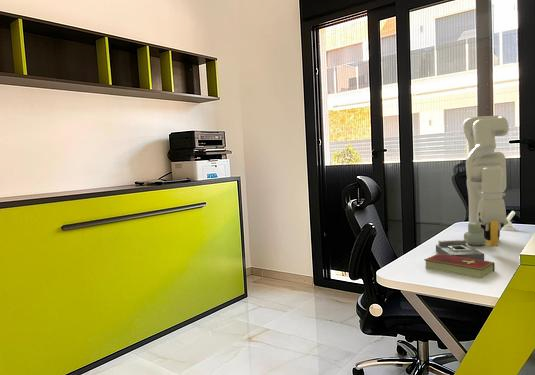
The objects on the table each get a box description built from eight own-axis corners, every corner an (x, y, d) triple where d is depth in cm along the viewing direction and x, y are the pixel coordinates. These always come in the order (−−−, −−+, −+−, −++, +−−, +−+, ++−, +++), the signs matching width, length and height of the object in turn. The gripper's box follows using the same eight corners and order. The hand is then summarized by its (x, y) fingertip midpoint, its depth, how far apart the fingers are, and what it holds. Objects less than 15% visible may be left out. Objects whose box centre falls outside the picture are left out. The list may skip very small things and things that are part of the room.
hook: (527, 219, 217) (520, 213, 214) (514, 238, 218) (506, 232, 215) (515, 215, 224) (508, 209, 221) (502, 232, 225) (495, 227, 222)
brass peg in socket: (485, 244, 175) (485, 218, 174) (492, 243, 175) (493, 218, 173) (490, 246, 170) (490, 221, 169) (498, 246, 170) (498, 220, 169)
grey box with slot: (435, 251, 182) (435, 240, 181) (466, 250, 181) (465, 239, 180) (450, 262, 164) (450, 250, 163) (484, 261, 163) (484, 249, 162)
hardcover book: (438, 262, 166) (438, 252, 165) (494, 272, 150) (494, 261, 150) (424, 269, 158) (424, 258, 157) (481, 280, 142) (481, 268, 142)
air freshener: (488, 247, 185) (488, 225, 184) (468, 247, 186) (468, 225, 186) (481, 241, 195) (481, 221, 194) (462, 241, 197) (462, 221, 196)
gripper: (507, 194, 173) (507, 236, 175) (467, 196, 175) (468, 238, 177) (516, 196, 166) (516, 240, 168) (475, 198, 167) (475, 242, 169)
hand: (491, 239), depth 172 cm, fingers closed on brass peg in socket, 3 cm apart
